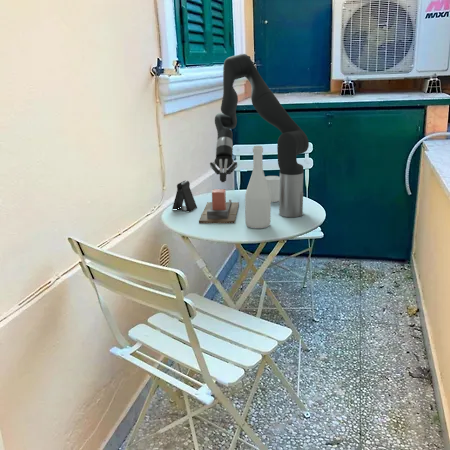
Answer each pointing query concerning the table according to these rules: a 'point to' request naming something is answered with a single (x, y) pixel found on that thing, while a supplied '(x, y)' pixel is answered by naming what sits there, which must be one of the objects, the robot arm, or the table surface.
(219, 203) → the orange upright block
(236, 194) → the table surface
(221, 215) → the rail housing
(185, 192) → the black a-frame stand
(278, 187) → the mug
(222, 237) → the table surface
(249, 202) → the wine bottle
